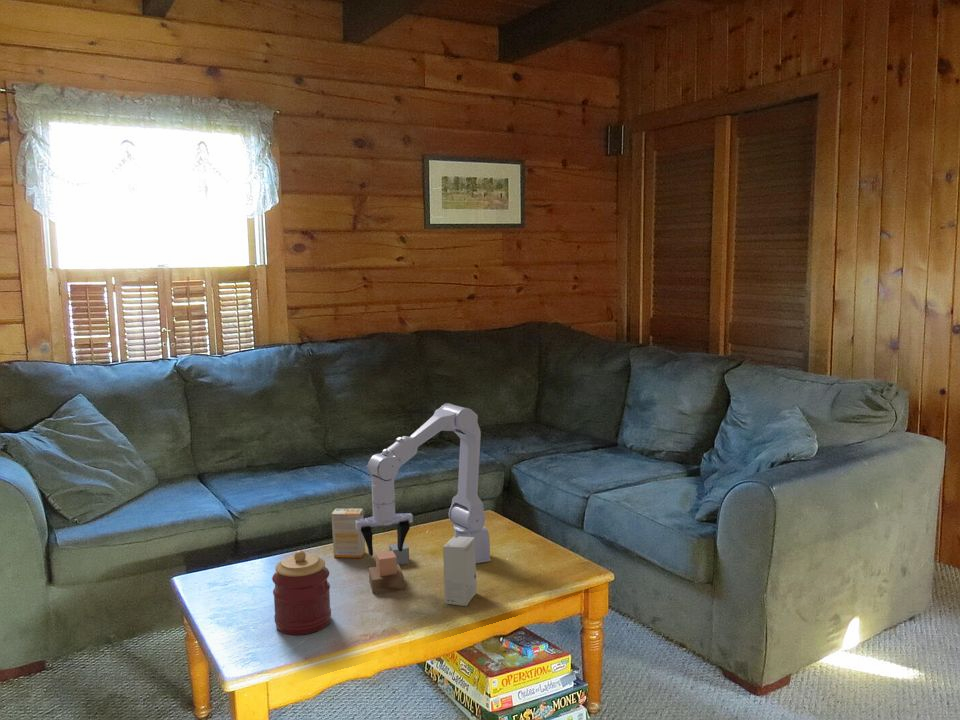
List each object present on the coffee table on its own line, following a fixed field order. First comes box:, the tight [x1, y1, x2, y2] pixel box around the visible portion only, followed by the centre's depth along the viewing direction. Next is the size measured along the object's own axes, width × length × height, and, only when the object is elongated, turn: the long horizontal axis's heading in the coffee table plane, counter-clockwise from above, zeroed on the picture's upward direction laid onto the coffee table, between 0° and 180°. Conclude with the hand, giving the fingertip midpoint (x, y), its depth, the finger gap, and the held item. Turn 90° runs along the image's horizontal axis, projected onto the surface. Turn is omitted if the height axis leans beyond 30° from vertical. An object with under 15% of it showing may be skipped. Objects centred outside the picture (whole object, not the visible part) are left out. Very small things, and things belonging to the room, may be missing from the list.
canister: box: [271, 549, 332, 636], centre depth 188 cm, size 13×13×18 cm
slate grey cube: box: [388, 541, 410, 565], centre depth 224 cm, size 4×4×4 cm
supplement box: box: [331, 507, 366, 559], centre depth 229 cm, size 8×5×13 cm, turn 84°
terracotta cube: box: [375, 550, 397, 576], centre depth 208 cm, size 4×4×4 cm
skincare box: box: [442, 536, 478, 607], centre depth 200 cm, size 8×6×15 cm
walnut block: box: [368, 564, 405, 595], centre depth 209 cm, size 8×8×4 cm
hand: (385, 552), depth 208 cm, fingers open, 7 cm apart
